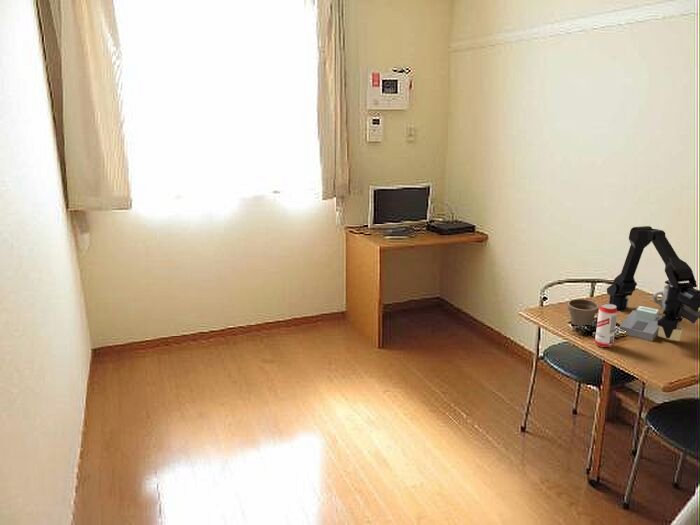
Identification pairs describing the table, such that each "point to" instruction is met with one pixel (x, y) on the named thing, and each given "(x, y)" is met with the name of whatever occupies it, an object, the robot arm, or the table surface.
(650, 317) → the cover
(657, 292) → the coffee mug
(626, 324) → the housing
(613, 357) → the table surface
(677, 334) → the gold faceted block
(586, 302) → the flower pot
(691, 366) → the table surface
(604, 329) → the beer can
